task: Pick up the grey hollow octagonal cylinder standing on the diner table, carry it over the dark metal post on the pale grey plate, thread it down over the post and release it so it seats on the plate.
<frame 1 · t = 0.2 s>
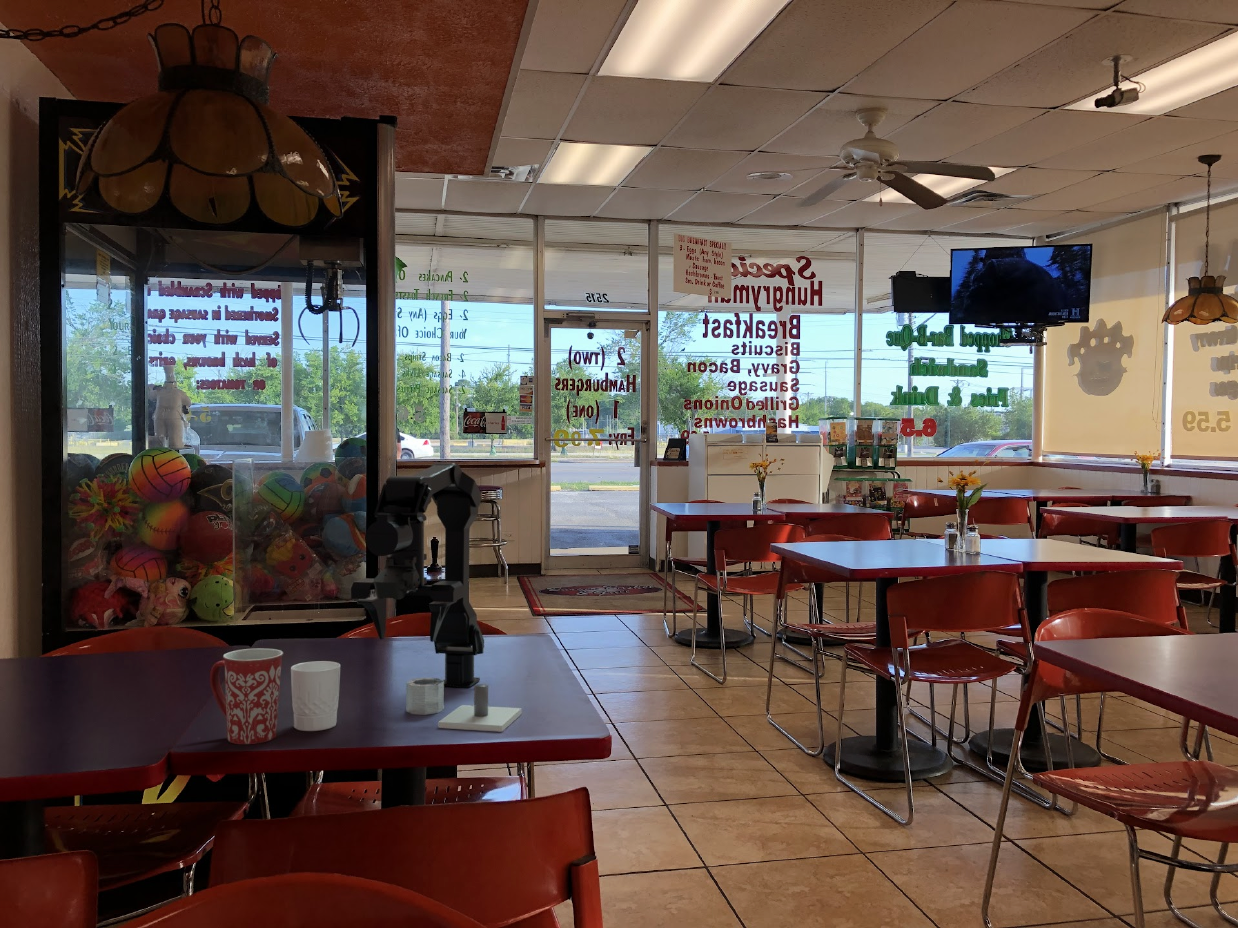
hand: (407, 640, 162), 14 cm above the table, fingers open, 9 cm apart
mug: (244, 737, 151), on the table
grey hollow octagonal cylinder: (425, 709, 168), on the table
post fixture: (481, 720, 161), on the table
white cup: (315, 726, 157), on the table
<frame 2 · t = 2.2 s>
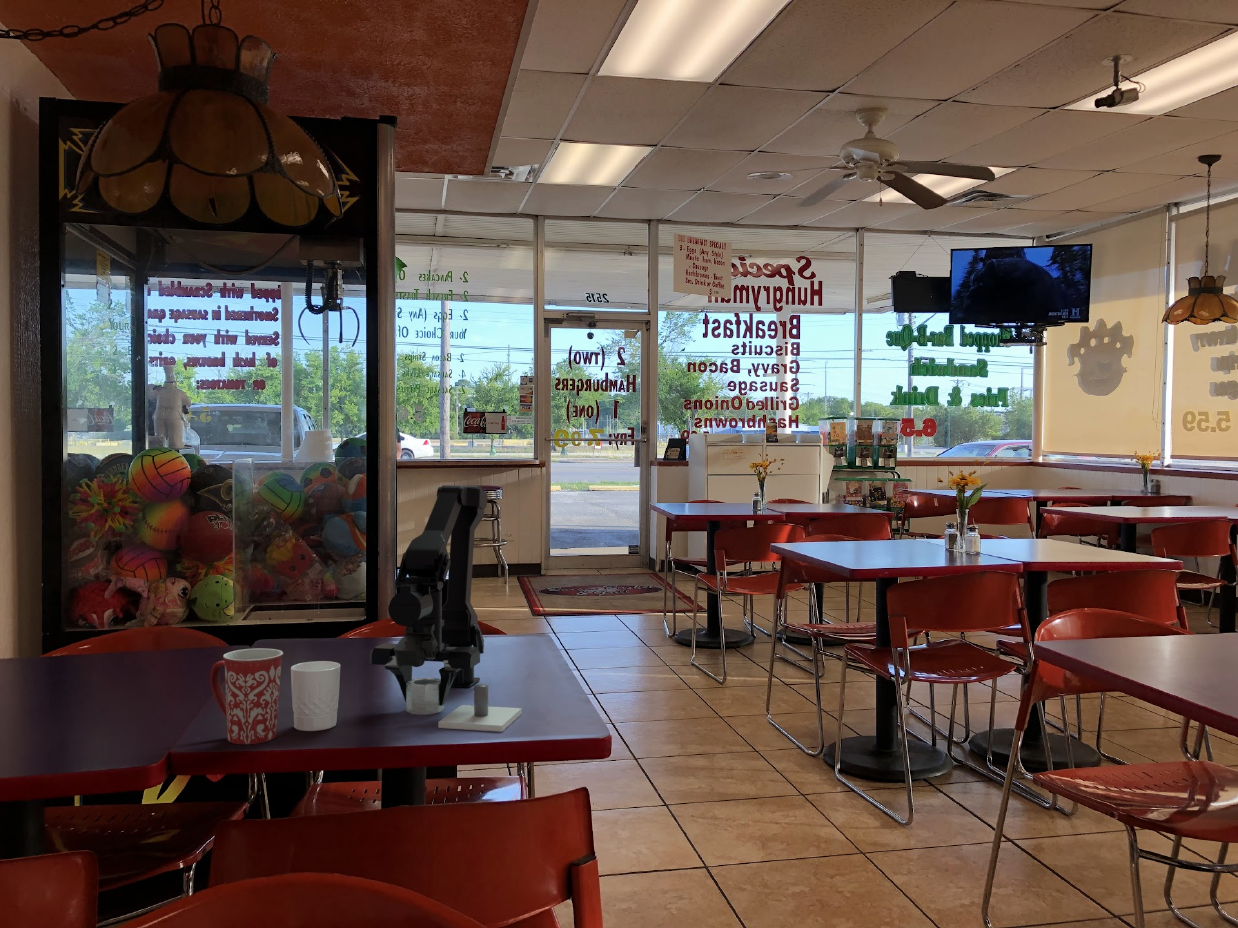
hand: (425, 704, 168), 1 cm above the table, fingers closed on grey hollow octagonal cylinder, 6 cm apart
grey hollow octagonal cylinder: (425, 709, 168), on the table, touching gripper
everything else where it was.
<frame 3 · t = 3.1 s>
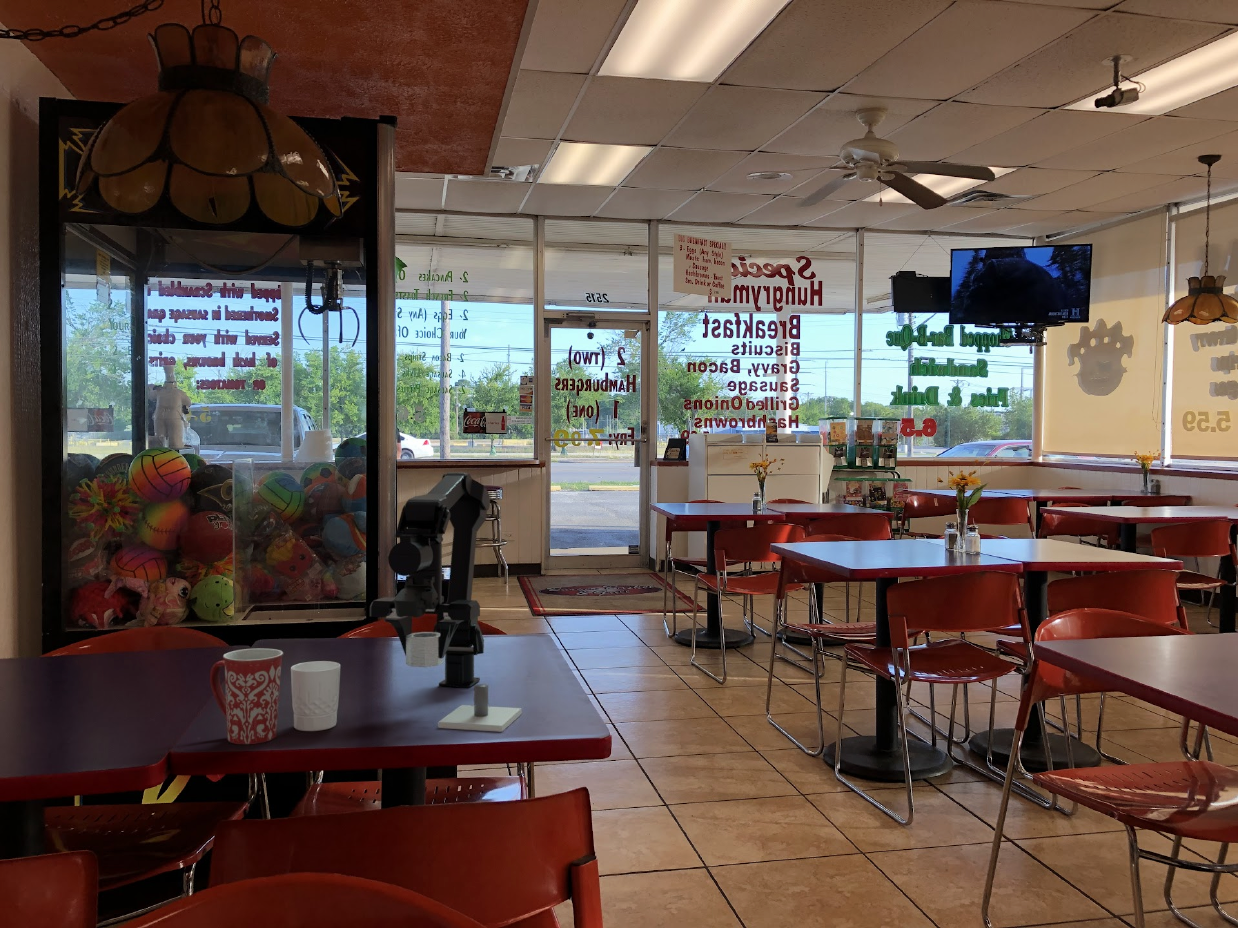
hand: (424, 657, 167), 9 cm above the table, fingers closed on grey hollow octagonal cylinder, 6 cm apart
grey hollow octagonal cylinder: (424, 663, 167), point 8 cm above the table, touching gripper
everything else where it was.
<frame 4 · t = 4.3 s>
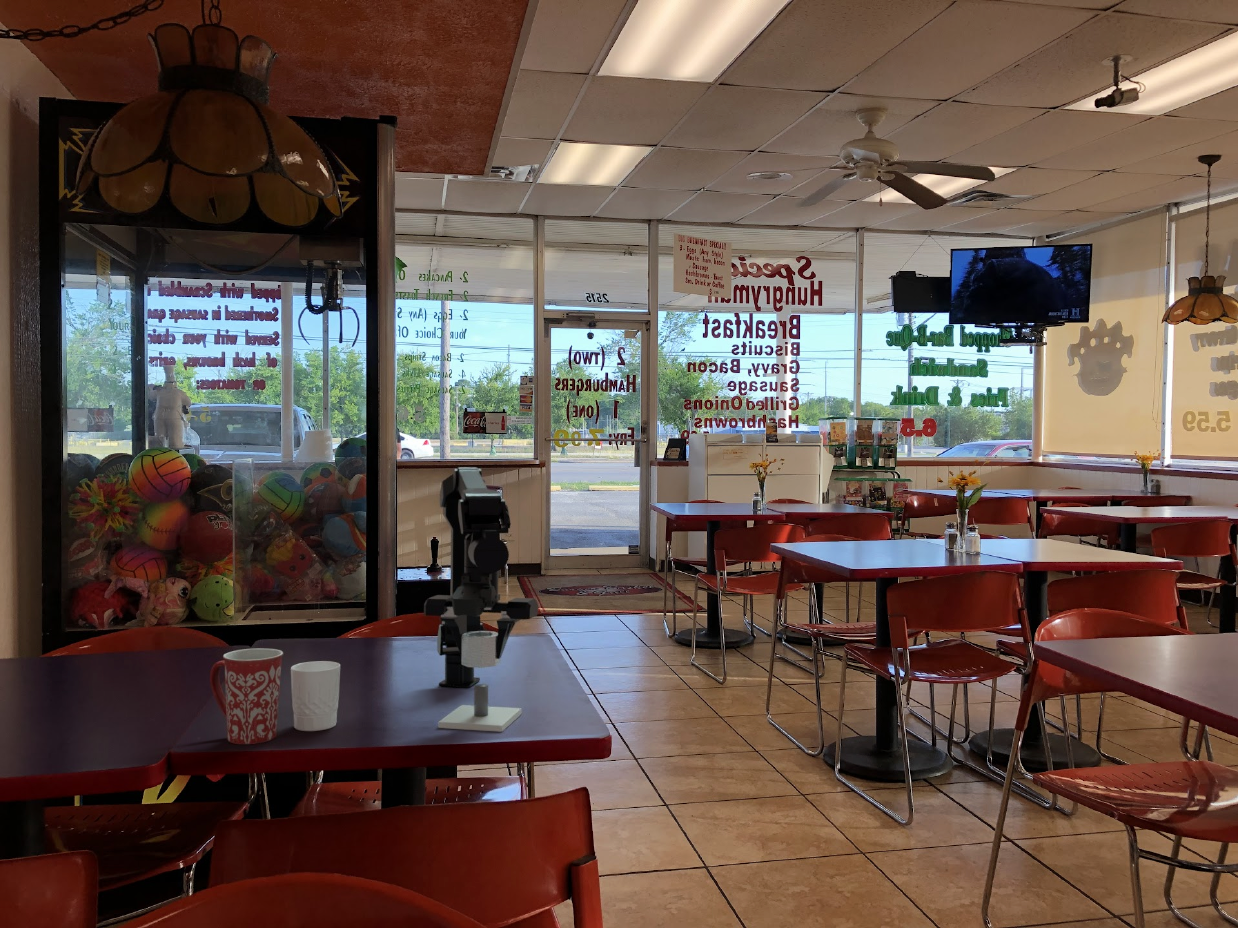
hand: (481, 657, 161), 11 cm above the table, fingers closed on grey hollow octagonal cylinder, 6 cm apart
grey hollow octagonal cylinder: (480, 663, 161), point 10 cm above the table, touching gripper
everything else where it was.
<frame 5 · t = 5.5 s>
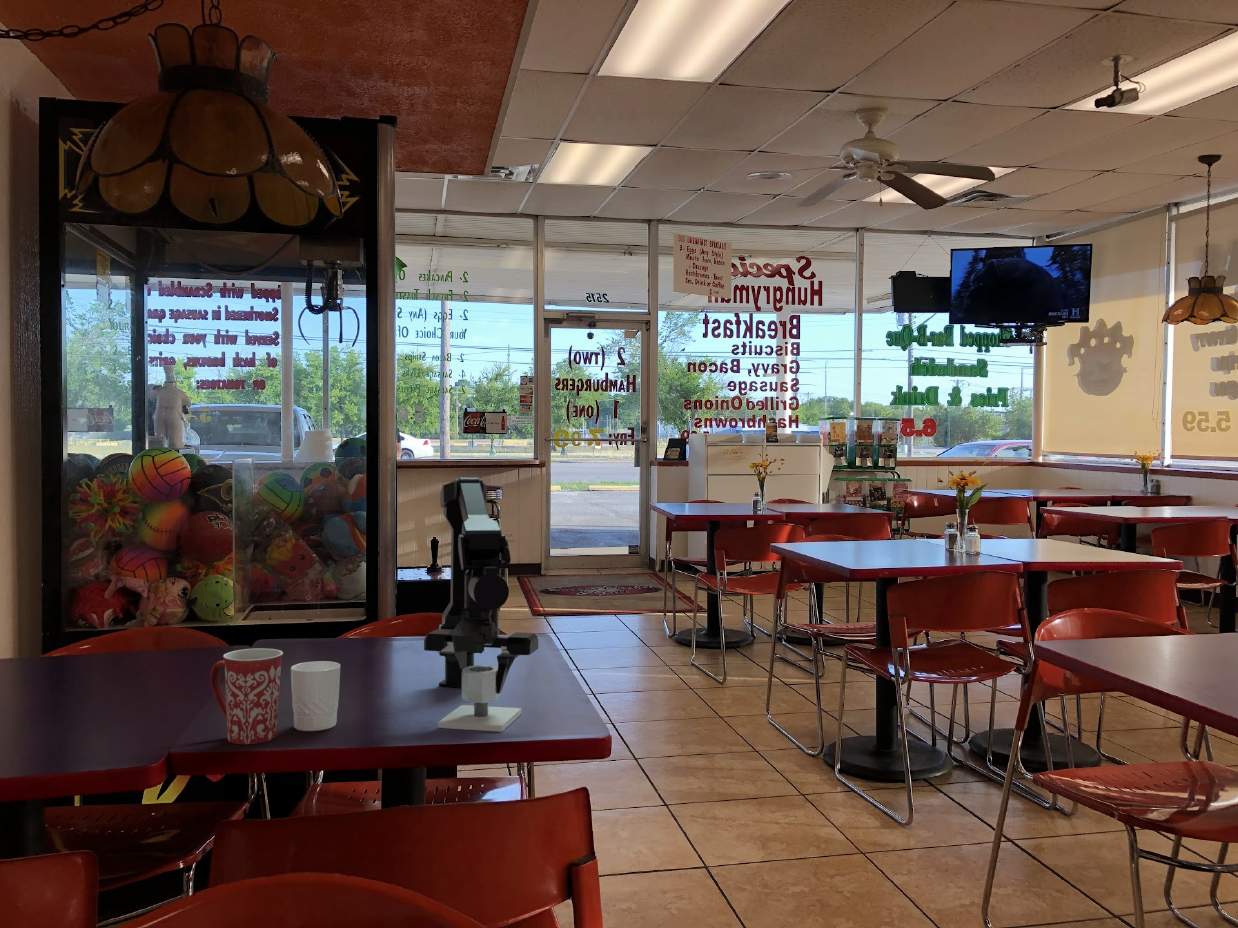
hand: (481, 692, 161), 5 cm above the table, fingers closed on grey hollow octagonal cylinder, 6 cm apart
grey hollow octagonal cylinder: (480, 698, 161), point 4 cm above the table, touching gripper
everything else where it was.
when the fingers open (4 cm above the table, at t = 6.6 s): grey hollow octagonal cylinder drops 2 cm, resting on post fixture.
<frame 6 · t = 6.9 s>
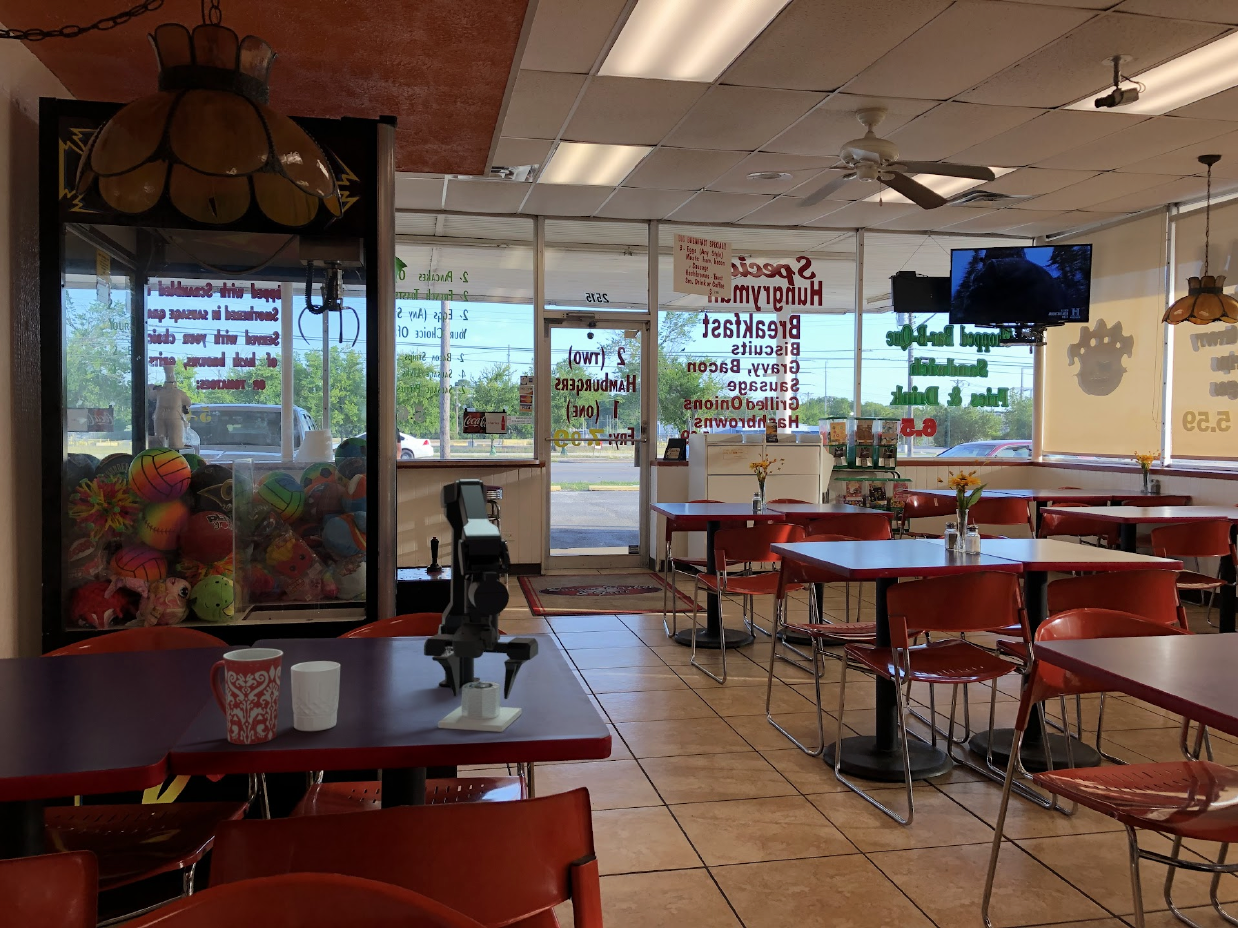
hand: (481, 697, 161), 4 cm above the table, fingers open, 9 cm apart
grey hollow octagonal cylinder: (480, 714, 161), point 1 cm above the table, touching post fixture
everything else where it was.
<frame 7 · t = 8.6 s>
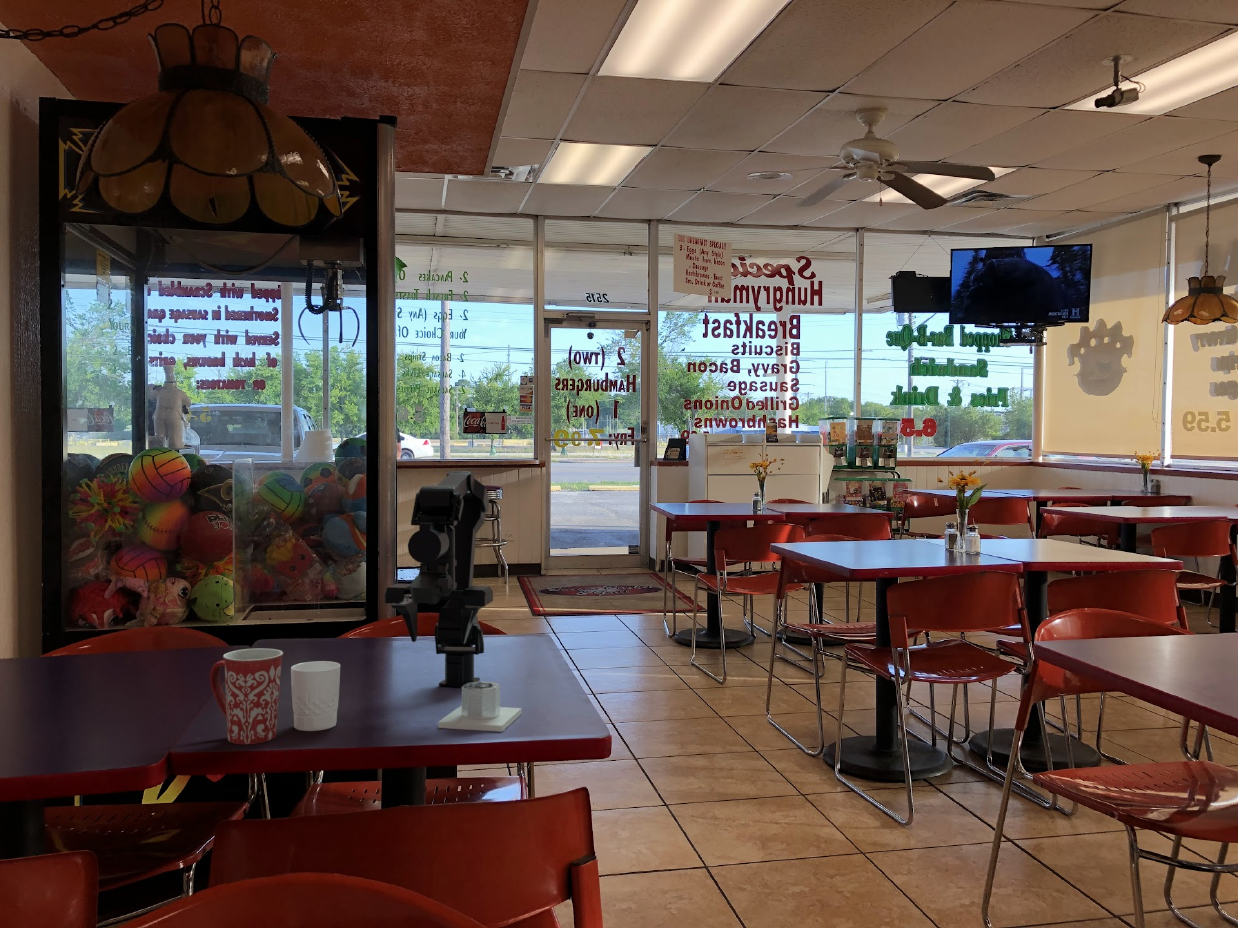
hand: (438, 642, 170), 12 cm above the table, fingers open, 9 cm apart
nothing on the table moved.
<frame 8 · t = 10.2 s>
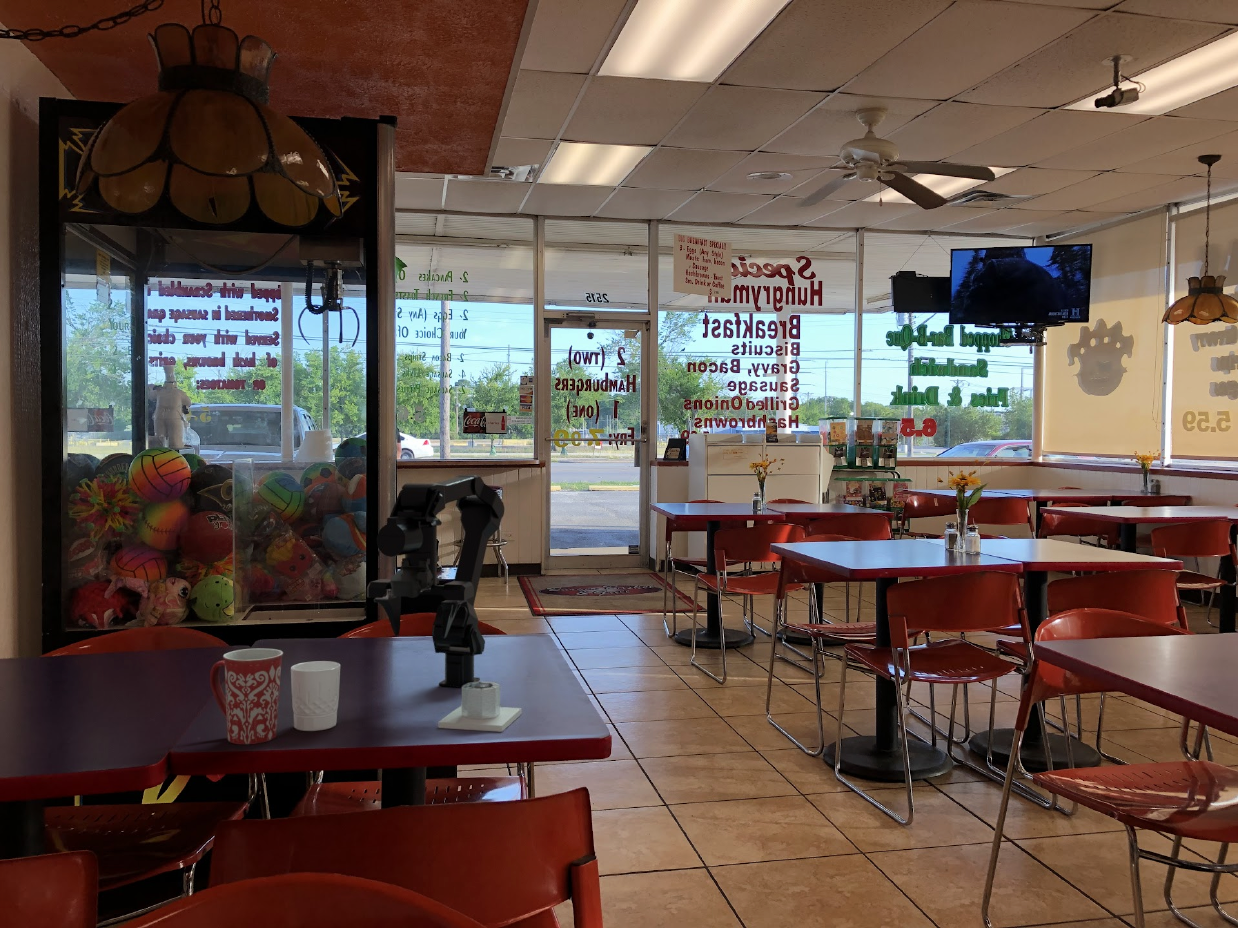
hand: (420, 636, 173), 12 cm above the table, fingers open, 9 cm apart
nothing on the table moved.
at the end: grey hollow octagonal cylinder 0.0 cm off-centre on the post fixture, point 1.0 cm above the post fixture's base; the gripper is holding nothing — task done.
